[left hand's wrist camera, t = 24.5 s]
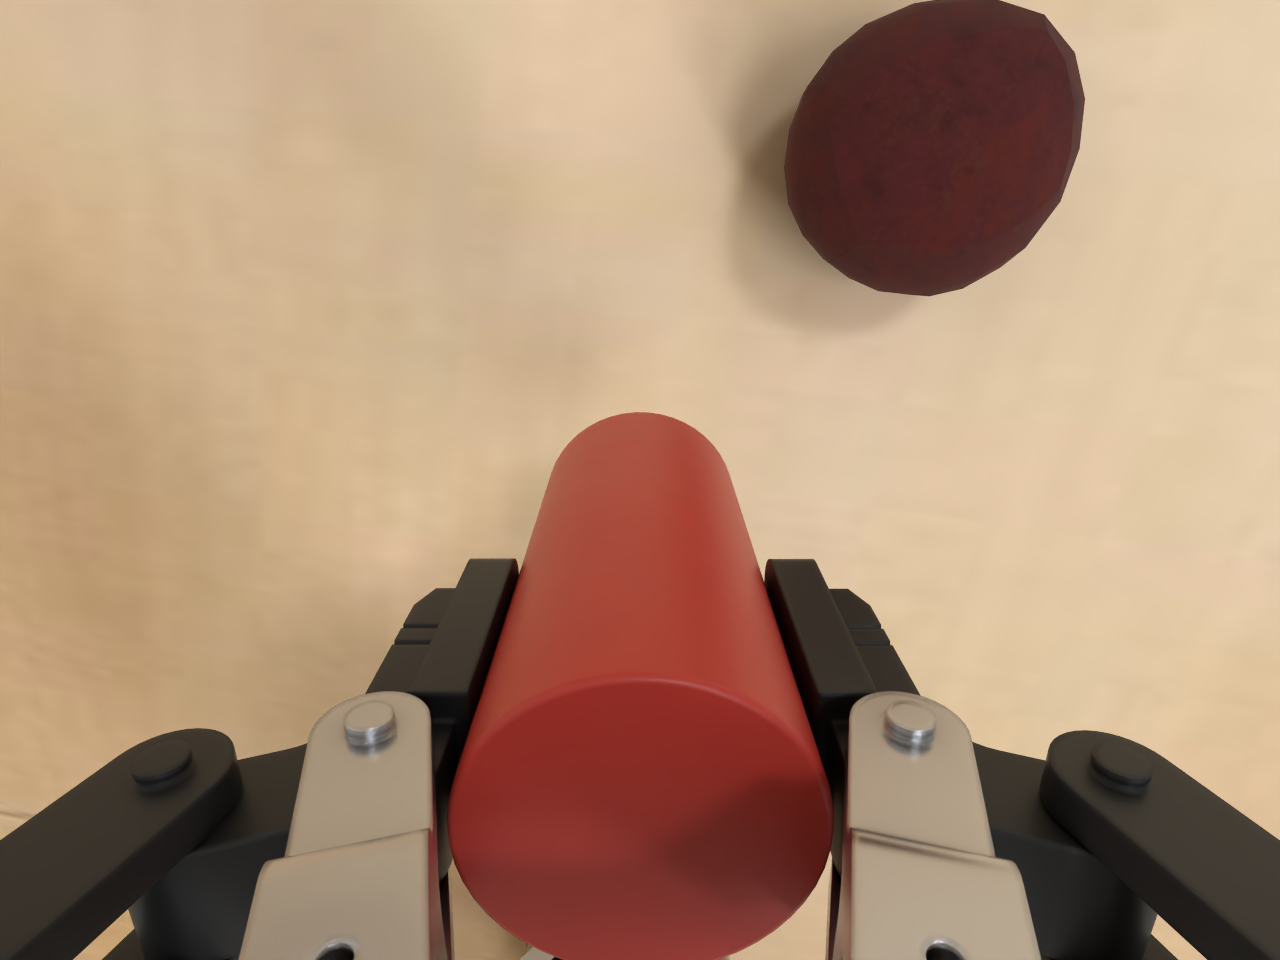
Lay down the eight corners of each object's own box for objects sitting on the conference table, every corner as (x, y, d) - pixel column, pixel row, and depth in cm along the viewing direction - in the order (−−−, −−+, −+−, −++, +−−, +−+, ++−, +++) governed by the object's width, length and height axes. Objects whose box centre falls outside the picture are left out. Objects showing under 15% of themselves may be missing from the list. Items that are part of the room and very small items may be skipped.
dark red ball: (738, 83, 23) (778, 35, 16) (992, -10, 22) (1142, -99, 15) (797, 314, 25) (852, 354, 19) (1027, 238, 24) (1170, 253, 18)
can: (766, 462, 16) (913, 772, 7) (677, 608, 17) (715, 1017, 9) (597, 378, 15) (544, 611, 7) (518, 536, 17) (387, 901, 8)
